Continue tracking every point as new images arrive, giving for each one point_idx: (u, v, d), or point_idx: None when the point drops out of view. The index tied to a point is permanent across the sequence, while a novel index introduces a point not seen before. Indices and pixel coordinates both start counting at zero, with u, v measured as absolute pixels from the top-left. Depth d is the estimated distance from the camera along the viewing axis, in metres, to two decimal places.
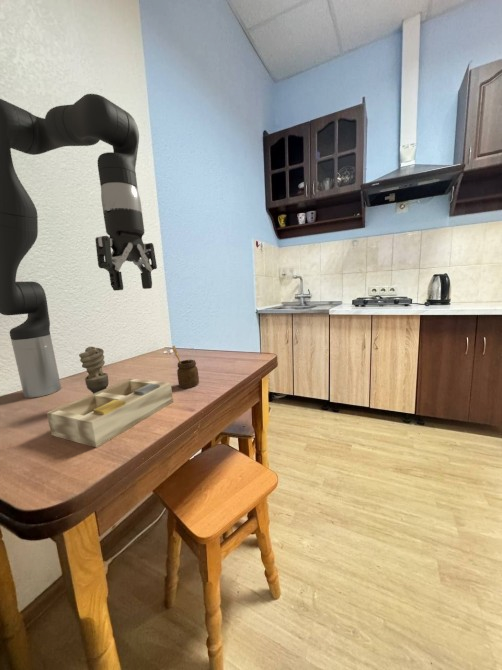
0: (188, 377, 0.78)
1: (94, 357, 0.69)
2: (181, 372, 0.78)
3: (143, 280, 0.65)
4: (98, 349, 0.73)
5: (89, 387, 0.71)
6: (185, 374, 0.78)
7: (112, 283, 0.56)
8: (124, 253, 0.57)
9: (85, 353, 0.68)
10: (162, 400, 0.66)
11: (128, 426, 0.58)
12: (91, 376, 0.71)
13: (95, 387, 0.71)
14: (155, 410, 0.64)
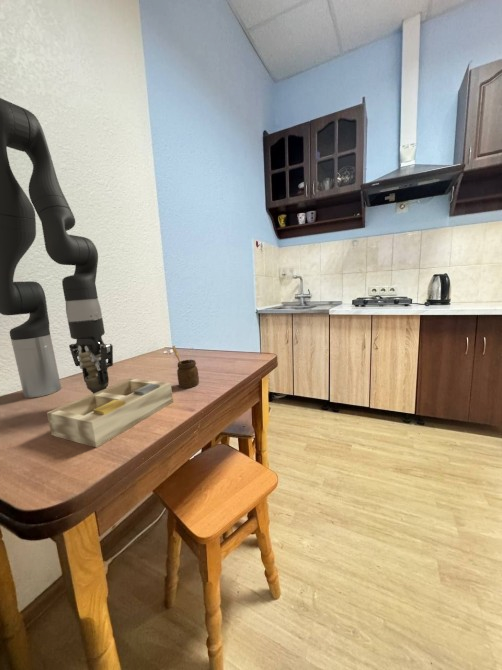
0: (188, 377, 0.78)
1: None
2: (181, 372, 0.78)
3: (87, 375, 0.73)
4: None
5: (89, 387, 0.71)
6: (185, 374, 0.78)
7: (104, 378, 0.70)
8: None
9: (85, 353, 0.68)
10: (162, 400, 0.66)
11: (128, 426, 0.58)
12: (91, 376, 0.71)
13: (95, 387, 0.71)
14: (155, 410, 0.64)
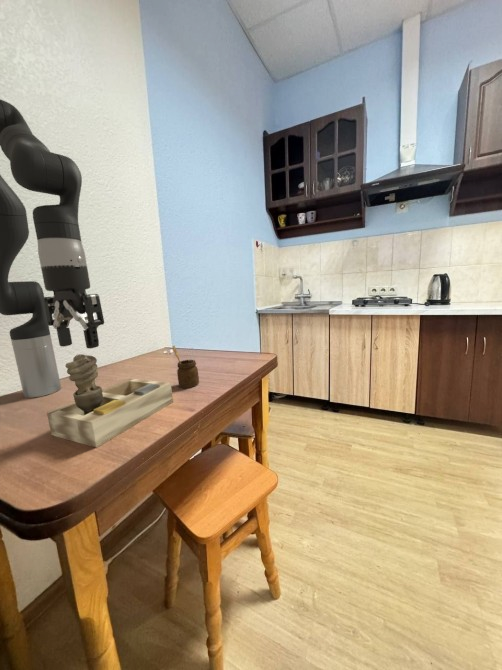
0: (188, 377, 0.78)
1: (84, 368, 0.55)
2: (181, 372, 0.78)
3: (63, 337, 0.58)
4: (90, 357, 0.59)
5: (78, 405, 0.57)
6: (185, 374, 0.78)
7: (93, 341, 0.54)
8: None
9: (73, 363, 0.54)
10: (162, 400, 0.66)
11: (128, 426, 0.58)
12: (81, 391, 0.57)
13: (86, 405, 0.57)
14: (155, 410, 0.64)
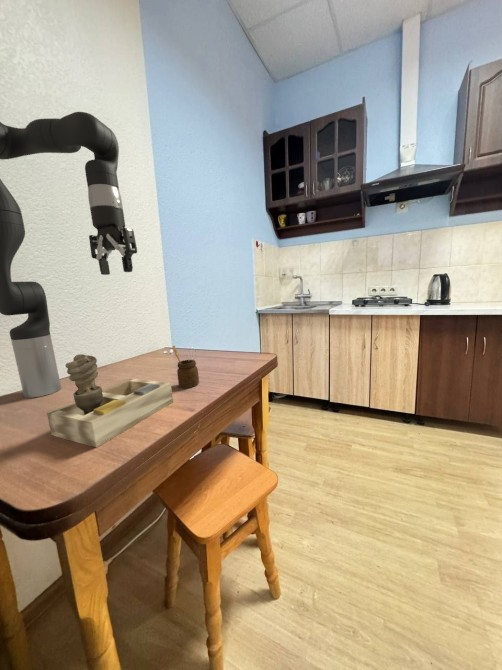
0: (188, 377, 0.78)
1: (84, 368, 0.55)
2: (181, 372, 0.78)
3: (103, 267, 0.74)
4: (90, 357, 0.59)
5: (78, 405, 0.57)
6: (185, 374, 0.78)
7: (129, 265, 0.70)
8: None
9: (73, 363, 0.55)
10: (162, 400, 0.66)
11: (128, 426, 0.58)
12: (81, 391, 0.57)
13: (86, 405, 0.57)
14: (155, 410, 0.64)
